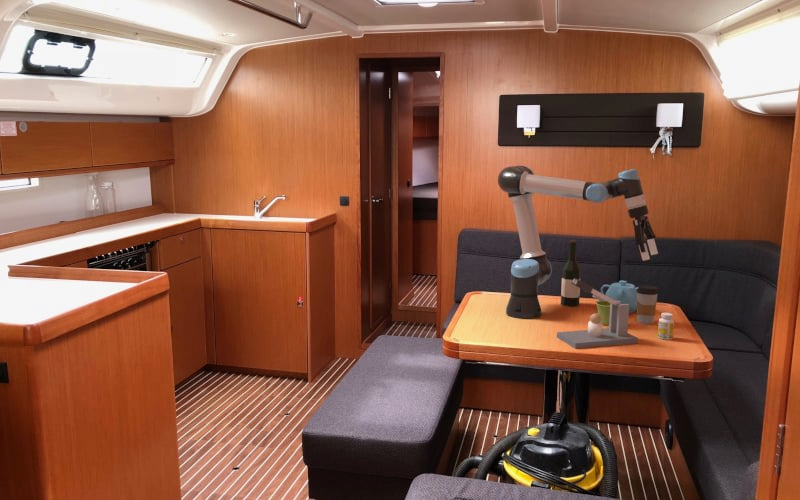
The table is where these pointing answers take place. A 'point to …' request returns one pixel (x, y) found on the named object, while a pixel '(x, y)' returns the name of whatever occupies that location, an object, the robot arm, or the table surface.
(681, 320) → the table surface
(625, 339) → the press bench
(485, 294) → the table surface
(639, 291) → the coffee cup
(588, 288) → the press lever
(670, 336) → the supplement bottle
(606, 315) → the plant pot
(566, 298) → the wine bottle
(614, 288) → the decorative pot
